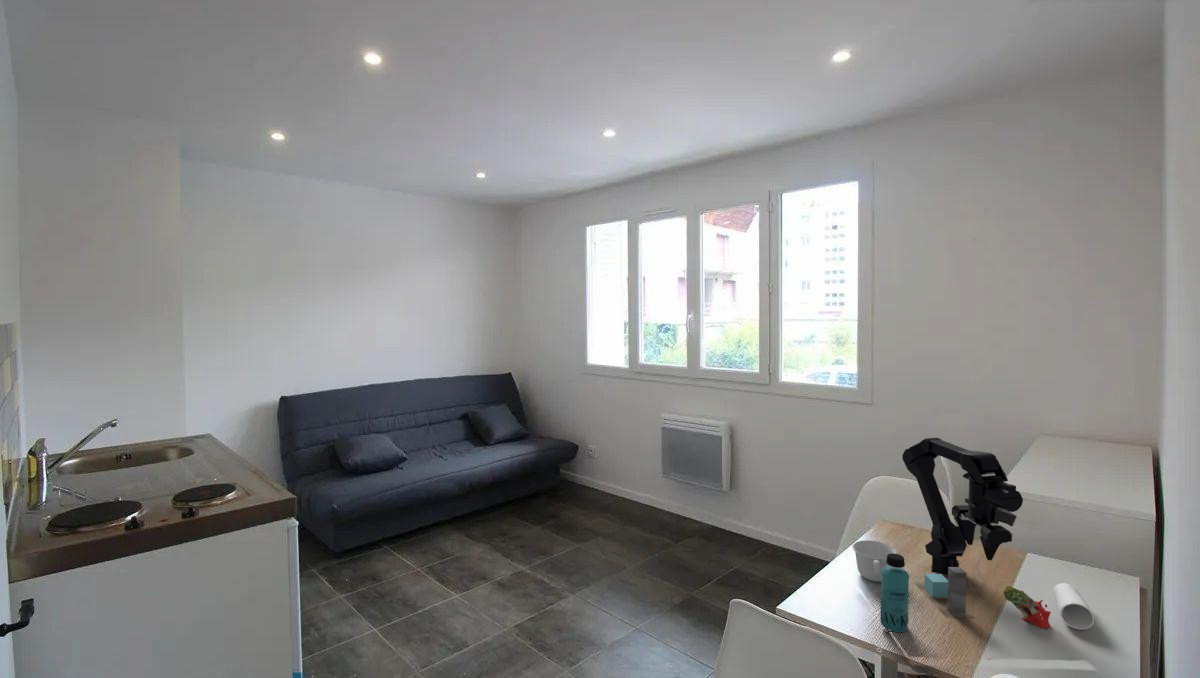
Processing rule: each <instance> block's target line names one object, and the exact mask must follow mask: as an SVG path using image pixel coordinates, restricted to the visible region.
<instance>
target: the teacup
mask: <svg viewBox="0 0 1200 678" xmlns="http://www.w3.org/2000/svg"><path fill="white" fill-rule="evenodd" d="M852 550H853V551H854V552H855V559H856V566H857V571H858V572H859V574H860V576H862V577H863V578H864V579H866V580H868V581H871V582H874V583H881V582H882V572H881V571H882V569H883V568H884V567H886V566H888V564H887V563H886V560H887V555H888V554H890V553H895V554H898V552H897V550H896V549H895V548H894V547H892V546H891V545H890V544H887V543H883V542H880V541H876V540H860V541H856V542H855V543H853V545H852Z"/></svg>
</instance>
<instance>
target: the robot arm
mask: <svg viewBox="0 0 1200 678" xmlns="http://www.w3.org/2000/svg"><path fill="white" fill-rule="evenodd" d="M901 455H902V461H903V463H904V465H905V467H906V470H907V471H908V472H909V473H910V474H912V475H913V476H914V477H915V478H916V481H917V484H918V486H919V489H920V492H921V495H922V498H923V501H924V504H925V506H926V509H927V512H928V515H929V517H930V520H931V522H932V527H931V532H930V537H931V541H929V542H928V543H926V544H925V545H924V547H925V552H926V553H927V554H928V555H929V556H931V568H930V569H931V573H937V574H942V575H943V576H944V575H946V576H948V567H960V563H959V559H957V557H958V558H959V557H963V555H964V553H965V552H966V549H967V547H968V545H969V546H973V544H974V538H975V531H976V526H979V527H980V529H979V533H980V536H979V539H980V542H981V544H982V548H983V551H984V555H985V558H986V560H988V561H992V560H993V558H994V556H995V555H996V553H997V551H998V549H999V547H1000V546H1001V545H1002V544H1003V543H1004V544H1007V543H1008V542H1009V543H1011V542H1013V533H1012V532H1011V531H1010V530H1009V529H1007V528H1005V527H1004V526H1003V525H1001V524H1000V523H1003V524H1006V525H1008V526H1010V527H1013V526H1014V524H1015V521H1016V520H1017V517H1018V516H1017V514H1014V513H1013V512H1017V511H1018V510H1019V509H1021V507H1022V505H1023V502H1024V498H1023V496H1022V494H1021V492H1019V491H1017V486H1016V485H1014V484H1011V483H1007V482H1008V481H1009V479H1008V477H1007V476H1006V473H1005V472H1004V469H1003V467H1002V466H1001V464H1000V461H999V460H998V459H997V457H996V455H995V454H994V453H991V452H986V451H980V450H979V451H977V450H969V449H967V448H964V447H961V446H958V445H955V444H952V443H951V442H947V441H945V440H942V439H941V438H939V437H927V438H924V439H921V441H919V442H918V443H916V444H913V445H912V446H910V447H908V448H906V449H904V451H903V453H902V454H901ZM938 457H942V458H945V459H947V460H949V461H951V462H954V463H956V464H959V466H960V467H961V469H962V471H965V473H964V474H963V475H962V478H964V479H966V480H968V497H967V498H964V502H965V503H967V505H966V504H965V505H964V504H963V505H960V504H959V505H957V504H954V506H952V508H951V515H952V516H953V518H954V520H955V521H956V523H957V525H955V524H954V522H952V520H951V518H950V515H949V513H948V510H947V506H946V505H945V501H944V499H943V496H942V494H941V491H940V489H939V486H938V484H937V480H936V478H935V475H934V473H935V469H936V461H935V459H936V458H938ZM994 524H996V525H994ZM997 524H1000V525H997Z"/></svg>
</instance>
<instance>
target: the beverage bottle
mask: <svg viewBox="0 0 1200 678" xmlns="http://www.w3.org/2000/svg"><path fill="white" fill-rule="evenodd" d="M886 563H887V564H888V566H886V567H884V568H883V569H882V571H881V572H882V582H880V583H881V590H880V597H879V598H880V601H879V602H880V616H879V619H880V621H879V622H880V623H881V626H882V627H883V628H884V629H886V630H888V631H891V632H895V633H904V632H905V631H907V629H908V628H909V587H910V586H909V585H910V584H909V583H910V582H909V579H910V575H909V573H908V571H906V569H904V567H906V565H905V564H906V563H905V557H904V556H903V555H901V554H898V553H897V554H895V553H890V554H888V555H887V560H886Z"/></svg>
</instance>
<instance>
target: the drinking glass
mask: <svg viewBox="0 0 1200 678" xmlns="http://www.w3.org/2000/svg"><path fill="white" fill-rule="evenodd" d="M1053 595H1054V597H1055V602H1056V607H1057V611H1058V613H1059V615H1060V617H1061V619H1062V621H1063V622H1064V623H1065V624H1066V625H1067V626H1068V627H1070V628H1072V629H1075V630H1080V631H1082V630H1088V629H1090V628H1091V627H1093V626H1094V623H1095V616H1094V613H1093V611H1092V609H1091V608H1090V606H1089V604H1088V603H1087V601H1085V599H1084V598H1083V596H1082V595H1081V594H1080V593H1079V591H1078V590H1077V588H1076V587H1075V586H1073V585H1072V584H1069V583H1065V582H1061V583H1058V584H1056V585H1055V586H1054V588H1053Z"/></svg>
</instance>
